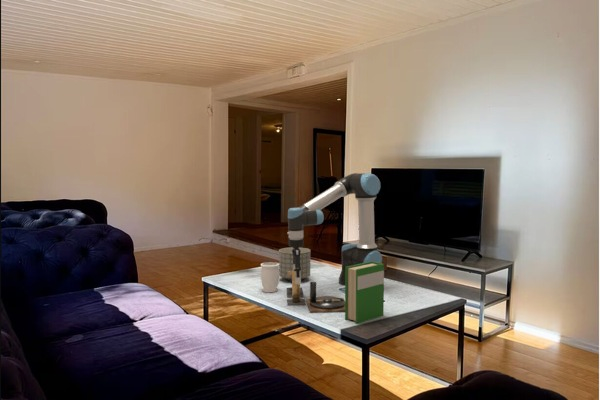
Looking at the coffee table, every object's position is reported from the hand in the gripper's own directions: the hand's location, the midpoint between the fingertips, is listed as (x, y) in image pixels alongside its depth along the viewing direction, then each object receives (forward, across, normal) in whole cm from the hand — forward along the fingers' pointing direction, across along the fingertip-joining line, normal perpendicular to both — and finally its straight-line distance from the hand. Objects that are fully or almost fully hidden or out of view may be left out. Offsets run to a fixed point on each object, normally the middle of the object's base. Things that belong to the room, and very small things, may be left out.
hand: (297, 280), depth 226 cm
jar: (+11, -21, -14) cm, 28 cm away
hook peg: (+11, +2, -2) cm, 11 cm away
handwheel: (+10, +9, +14) cm, 20 cm away
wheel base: (+11, +9, +14) cm, 20 cm away
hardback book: (+12, +27, +28) cm, 41 cm away
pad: (+11, +2, -1) cm, 11 cm away
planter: (+12, -44, +2) cm, 46 cm away
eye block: (+11, -11, -1) cm, 16 cm away
